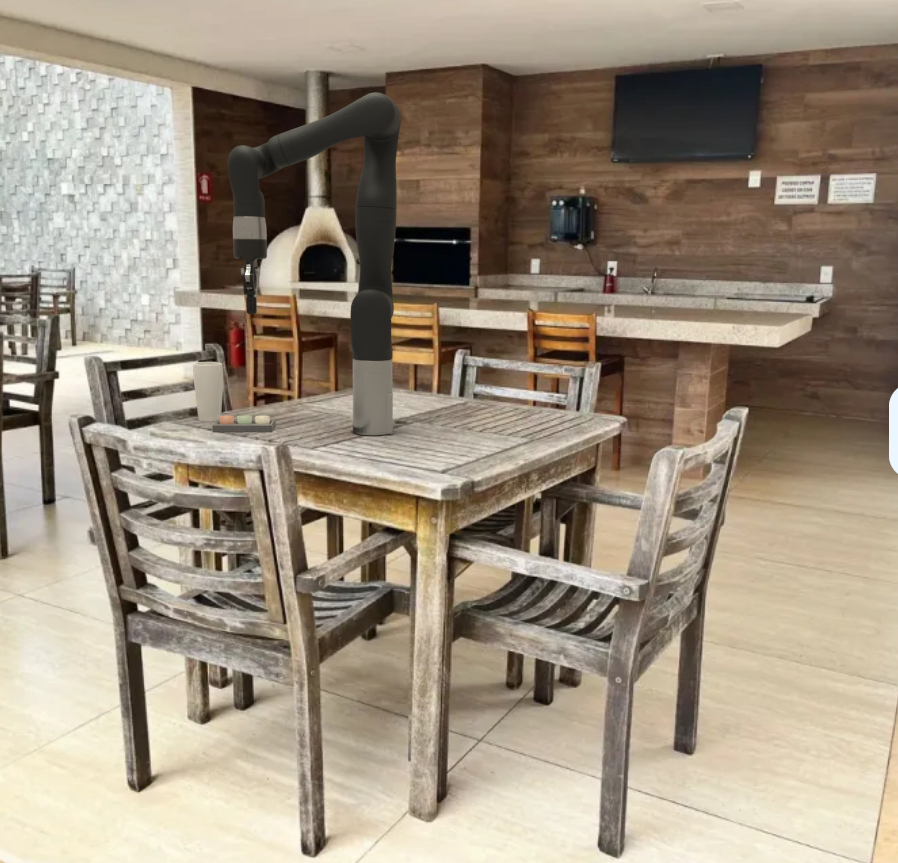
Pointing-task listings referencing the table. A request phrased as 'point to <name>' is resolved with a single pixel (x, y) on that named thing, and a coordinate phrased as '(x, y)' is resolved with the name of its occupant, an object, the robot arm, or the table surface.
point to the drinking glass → (208, 389)
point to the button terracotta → (226, 419)
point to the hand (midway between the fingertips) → (251, 313)
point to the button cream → (262, 419)
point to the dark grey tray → (244, 427)
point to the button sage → (244, 419)
